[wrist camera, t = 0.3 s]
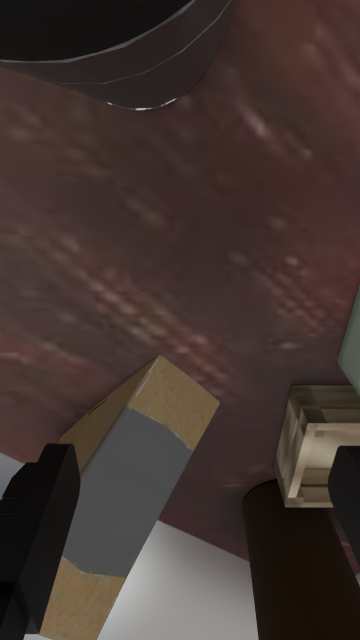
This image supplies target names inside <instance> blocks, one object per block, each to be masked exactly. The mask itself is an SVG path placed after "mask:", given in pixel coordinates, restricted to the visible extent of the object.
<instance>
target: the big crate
mask: <svg viewBox="0 0 360 640" xmlns="http://www.w3.org/2000/svg"><path fill="white" fill-rule="evenodd" d="M341 445H355V446H360V396H359V395H358V393H357V392H356V390H355V389H354V387H353V386H352V385H292V386H291V391H290V395H289V400H288V404H287V409H286V413H285V418H284V422H283V427H282V431H281V436H280V440H279V445H278V449H277V454H276V458H275V463H274V469H275V472H276V476H277V480H278V483H279V487H280V491H281V494H282V498H283V501H284V505H285V507H333V505H332V502H331V500H330V497H329V492H328V477H329V474H330V471H331V467H332V464H333V461H334V457H335V454H336V451H337V448H338V447H339V446H341Z"/></svg>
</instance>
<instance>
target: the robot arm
mask: <svg viewBox="0 0 360 640" xmlns="http://www.w3.org/2000/svg"><path fill="white" fill-rule="evenodd" d="M239 2H240V0H0V66H3V67H5V68H8V69H11V70H14V71H17V72H20V73H24V74H27V75H29V76H32V77H35V78H38V79H41V80H44V81H47V82H50V83H53V84H56V85H59V86H61V87H64V88H67V89H70V90H73V91H76V92H79V93H82V94H85V95H88V96H91V97H93V98H96V99H99V100H102V101H104V102H106V103H109V104H111V105H114V106H118V107H120V108H125V109H129V110H133V109H134V110H142V111H143V110H151V109H159V108H161V107H164V106H166V105H169V104H172V103H174V102H175V101H177V100H178V99H180V98H181V97H183V96H184V95H185V94H187V93H188V92H189V91H190V90H191V89H192V88H193V87H194V86H195V85H196V84H197V82H198V81H199V80H200V79H201V78H202V76H203V74H204V73H205V71H206V69H207V68H208V66H209V64H210V63H211V61H212V59H213V57H214V54H215V52H216V51H217V49H218V47H219V45H220V42H221V40H222V38H223V36H224V34H225V32H226V30H227V27H228V25H229V23H230V21H231V19H232V17H233V15H234V12H235V10H236V8H237V6H238V4H239ZM80 485H81V479H80V472H79V467H78V462H77V456H76V451H75V446H74V444H47V445H46V446H45V447H44V449H43V451H42V453H41V456H40V458H39V460H38V462H37V463H26V464H25V465H24V466H23V467H22V468H21V469H20V470H19V471H18V472H17V473H16V474H15V475H14V476H13V477H12V478H11V480H10V482H9V484H8V486H7V488H6V490H5V492H4V494H3V496H2V500H0V640H23V639H24V635H25V634H39V633H40V630H41V626H42V623H43V620H44V616H45V613H46V609H47V606H48V602H49V599H50V595H51V592H52V588H53V585H54V582H55V578H56V575H57V571H58V568H59V564H60V561H61V557H62V554H63V550H64V547H65V544H66V540H67V537H68V533H69V530H70V526H71V523H72V519H73V516H74V513H75V509H76V506H77V502H78V498H79V494H80ZM328 492H329V497H330V500H331V502H332V505H333V507H334V509H335V512H336V514H337V516H338V518H339V521H340V523H341V525H342V528H343V530H344V532H345V535H346V537H347V539H348V542H349V544H350V546H351V549H352V551H353V553H354V555H355V558H356V560H357V562H358V565H359V567H360V446H355V445H341V446H339V447H338V448H337V451H336V454H335V457H334V461H333V464H332V467H331V471H330V474H329V477H328Z"/></svg>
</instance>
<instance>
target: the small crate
mask: <svg viewBox="0 0 360 640" xmlns="http://www.w3.org/2000/svg"><path fill="white" fill-rule="evenodd" d="M337 363H338V365H339V366H340V368H341V369H342V371H343V372H344V374H345V375H346V377H347V378H348V380H349V381H350V383H351V384H352V386H353V387H354V389H355V390H356V392H357V393H358V395H359V396H360V285H359V288H358V292H357V295H356V298H355V302H354V305H353V308H352V312H351V315H350V319H349V322H348V325H347V329H346V332H345V336H344V339H343V342H342V346H341V349H340V353H339V356H338V359H337Z"/></svg>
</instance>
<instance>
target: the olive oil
mask: <svg viewBox="0 0 360 640" xmlns="http://www.w3.org/2000/svg"><path fill="white" fill-rule="evenodd" d="M243 515H244V523H245V530H246V537H247V545H248V552H249V560H250V568H251V577H252V586H253V594H254V602H255V611H256V620H257V628H258V638H259V640H360V586H359V584H358V581H357V579H356V577H355V574H354V572H353V570H352V568H351V565H350V563H349V561H348V558H347V556H346V554H345V551H344V549H343V547H342V544H341V542H340V540H339V537H338V535H337V533H336V530H335V528H334V525H333V523H332V520H331V518H330V516H329V513H328V511H327V508H326V507H285V505H284V501H283V498H282V494H281V491H280V487H279V483H278V480H275V481H271V482H267V483H264V484H262V485H260V486H258V487H256V488H255V489H253V490H252V491H251V492H250V493H249V494H248V495H247V496H246V497H245V499H244V501H243Z"/></svg>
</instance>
